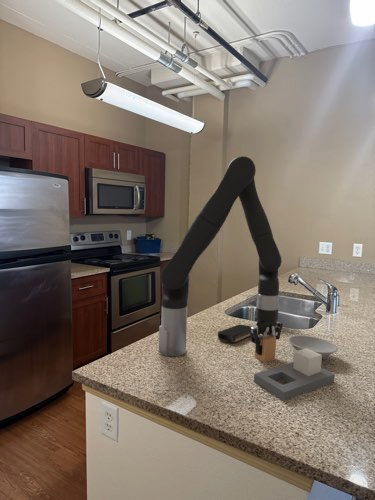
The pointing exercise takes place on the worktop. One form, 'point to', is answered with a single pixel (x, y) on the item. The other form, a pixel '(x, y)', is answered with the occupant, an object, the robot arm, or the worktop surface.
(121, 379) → the worktop surface
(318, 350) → the dish
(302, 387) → the square-hole base plate
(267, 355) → the plug
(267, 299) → the robot arm
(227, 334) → the black sponge
